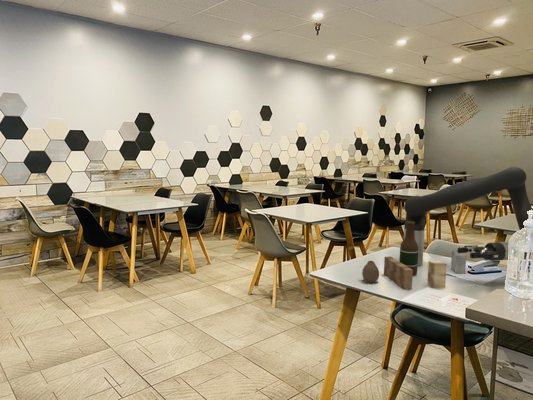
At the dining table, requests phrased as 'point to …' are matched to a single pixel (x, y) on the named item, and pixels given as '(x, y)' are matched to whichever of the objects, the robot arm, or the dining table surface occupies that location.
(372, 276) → the vase
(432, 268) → the maple block
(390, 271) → the walnut board
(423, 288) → the dining table surface
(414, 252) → the beer bottle
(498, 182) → the robot arm
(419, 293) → the dining table surface
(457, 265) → the medicine box
